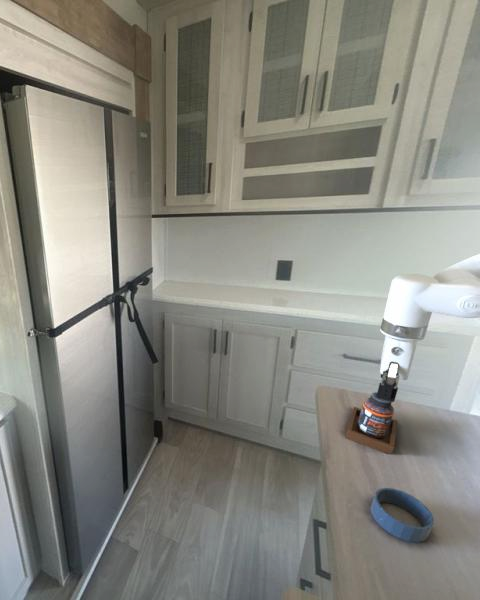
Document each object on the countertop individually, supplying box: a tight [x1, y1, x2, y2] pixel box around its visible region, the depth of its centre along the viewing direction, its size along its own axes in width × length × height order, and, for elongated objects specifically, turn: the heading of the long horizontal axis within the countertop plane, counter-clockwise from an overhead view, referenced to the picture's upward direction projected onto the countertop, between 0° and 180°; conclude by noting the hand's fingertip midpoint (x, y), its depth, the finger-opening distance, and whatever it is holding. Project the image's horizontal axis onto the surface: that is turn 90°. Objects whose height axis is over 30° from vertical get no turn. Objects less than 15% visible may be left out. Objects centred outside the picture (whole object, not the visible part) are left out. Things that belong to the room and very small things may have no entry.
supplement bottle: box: [357, 391, 395, 439], centre depth 85 cm, size 6×6×11 cm
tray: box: [344, 406, 398, 455], centre depth 87 cm, size 12×9×2 cm
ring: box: [369, 487, 435, 544], centre depth 66 cm, size 8×8×5 cm
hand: (386, 388), depth 82 cm, fingers open, 9 cm apart
